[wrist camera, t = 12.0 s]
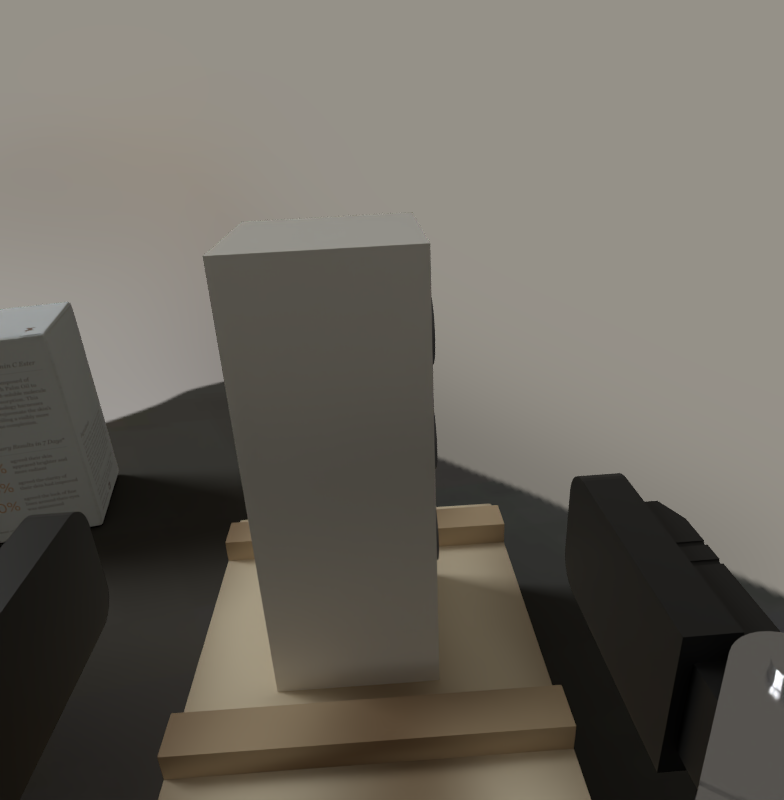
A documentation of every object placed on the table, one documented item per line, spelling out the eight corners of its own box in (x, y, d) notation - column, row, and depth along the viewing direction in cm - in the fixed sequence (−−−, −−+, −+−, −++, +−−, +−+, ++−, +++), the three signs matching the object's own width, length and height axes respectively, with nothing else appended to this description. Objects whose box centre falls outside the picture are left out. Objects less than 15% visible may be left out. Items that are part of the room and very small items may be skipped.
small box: (121, 473, 37) (75, 299, 32) (104, 528, 32) (47, 330, 27) (-29, 496, 35) (-98, 316, 31) (-71, 557, 30) (-161, 353, 26)
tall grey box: (277, 691, 17) (202, 255, 12) (293, 582, 21) (242, 221, 16) (446, 679, 17) (440, 242, 12) (430, 572, 21) (420, 211, 17)
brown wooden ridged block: (180, 935, 16) (139, 813, 14) (254, 598, 26) (237, 503, 24) (578, 902, 16) (594, 778, 14) (488, 582, 27) (491, 486, 25)
